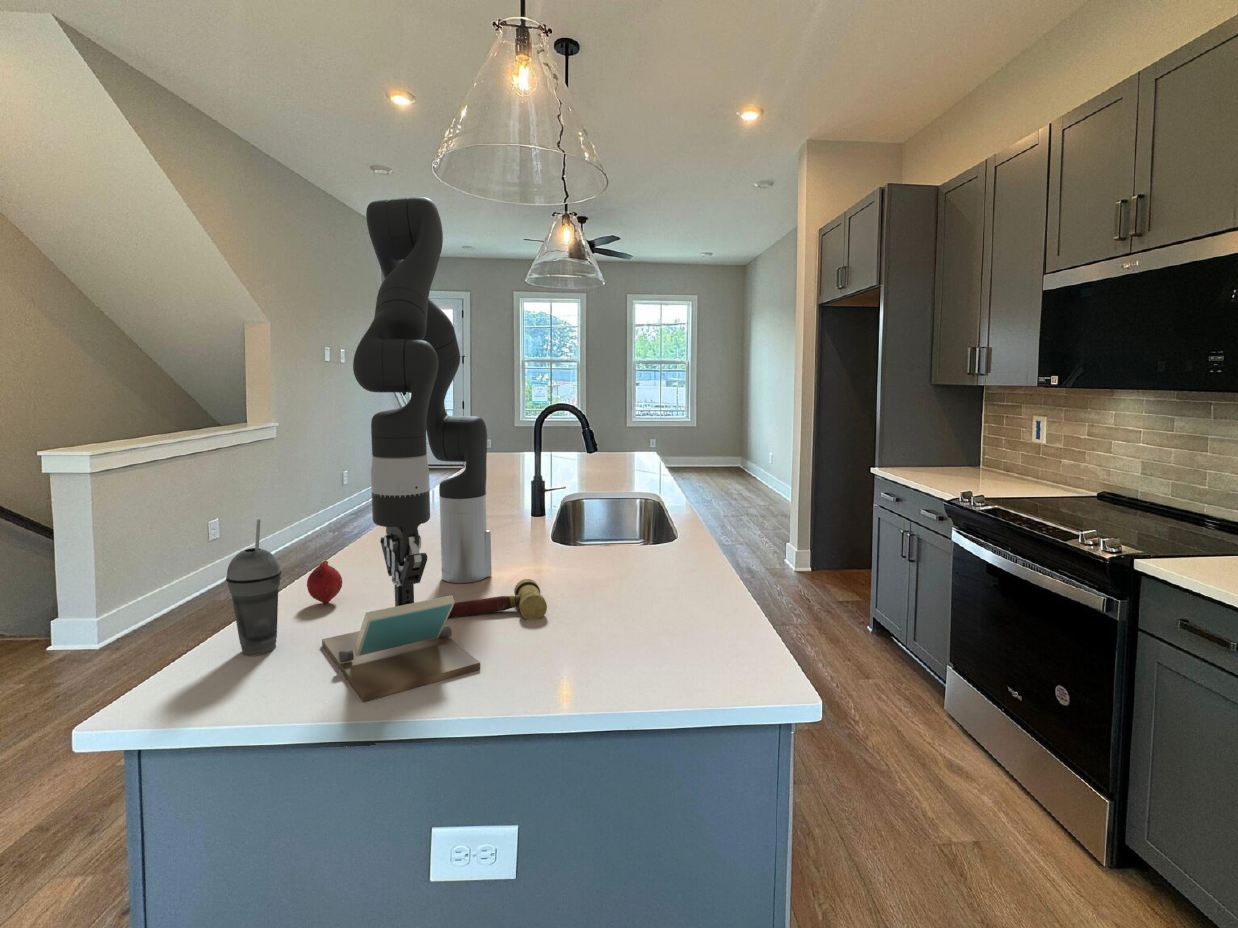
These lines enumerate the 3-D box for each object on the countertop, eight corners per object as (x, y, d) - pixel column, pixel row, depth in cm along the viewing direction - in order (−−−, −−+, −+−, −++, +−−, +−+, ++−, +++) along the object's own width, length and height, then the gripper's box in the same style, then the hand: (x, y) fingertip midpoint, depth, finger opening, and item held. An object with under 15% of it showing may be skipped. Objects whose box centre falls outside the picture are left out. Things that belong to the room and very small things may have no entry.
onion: (329, 609, 116) (327, 565, 115) (300, 607, 117) (298, 564, 116) (349, 599, 121) (347, 557, 120) (321, 596, 122) (319, 555, 121)
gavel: (418, 612, 106) (420, 593, 116) (421, 639, 107) (423, 617, 117) (546, 593, 112) (537, 576, 121) (548, 619, 112) (539, 600, 122)
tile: (452, 595, 93) (455, 603, 93) (436, 630, 100) (438, 637, 99) (365, 612, 86) (368, 621, 85) (354, 648, 92) (356, 657, 92)
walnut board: (424, 622, 110) (423, 606, 109) (480, 669, 92) (480, 650, 92) (322, 645, 100) (321, 627, 100) (363, 701, 83) (362, 680, 82)
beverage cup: (245, 640, 102) (236, 514, 99) (294, 639, 102) (286, 514, 100) (221, 660, 95) (211, 525, 92) (273, 658, 95) (264, 524, 93)
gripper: (445, 493, 86) (448, 618, 88) (411, 478, 96) (415, 591, 99) (387, 499, 81) (392, 631, 84) (358, 483, 92) (363, 601, 94)
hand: (404, 609), depth 91 cm, fingers closed
